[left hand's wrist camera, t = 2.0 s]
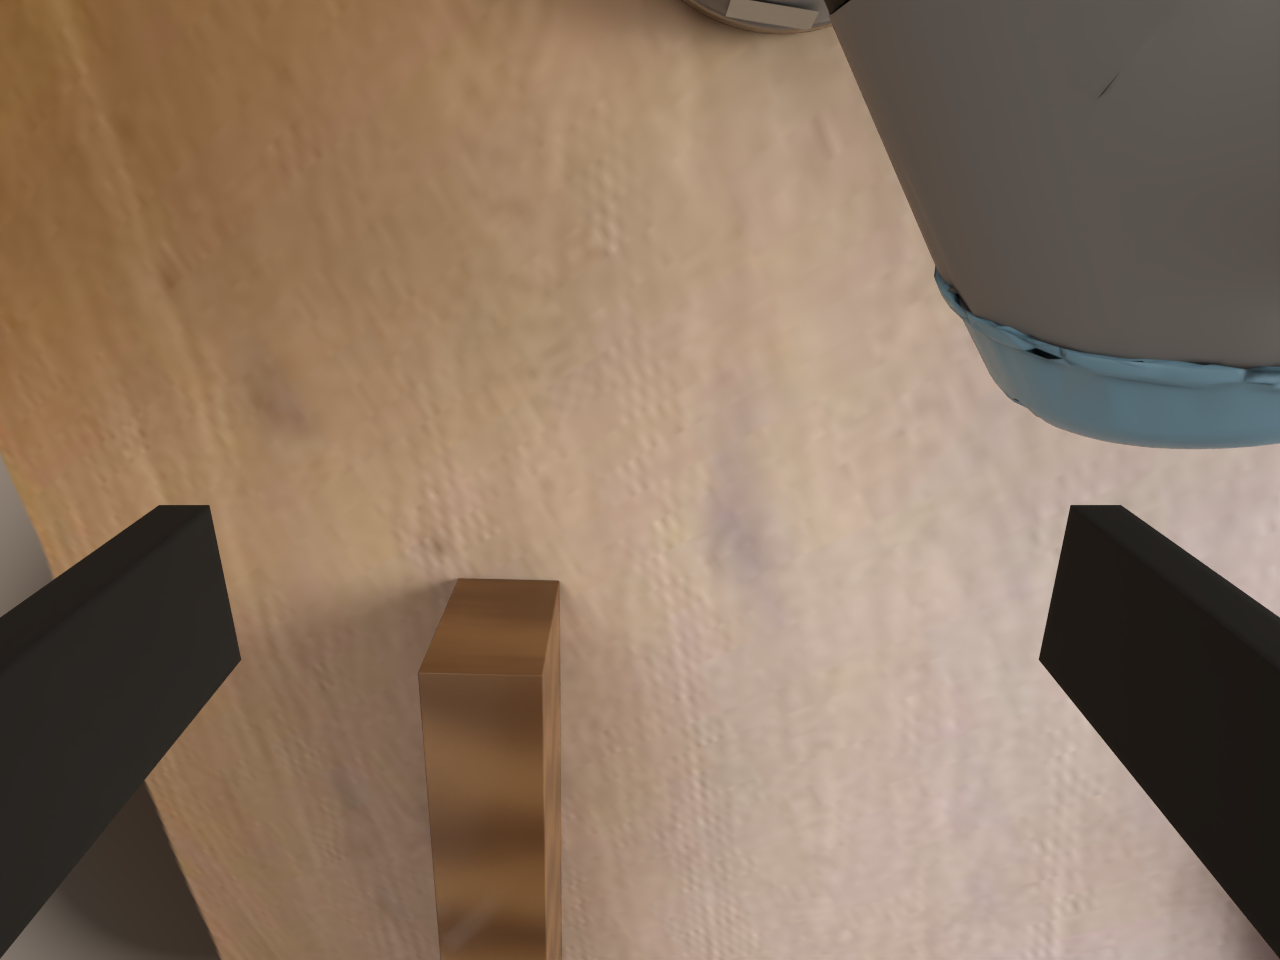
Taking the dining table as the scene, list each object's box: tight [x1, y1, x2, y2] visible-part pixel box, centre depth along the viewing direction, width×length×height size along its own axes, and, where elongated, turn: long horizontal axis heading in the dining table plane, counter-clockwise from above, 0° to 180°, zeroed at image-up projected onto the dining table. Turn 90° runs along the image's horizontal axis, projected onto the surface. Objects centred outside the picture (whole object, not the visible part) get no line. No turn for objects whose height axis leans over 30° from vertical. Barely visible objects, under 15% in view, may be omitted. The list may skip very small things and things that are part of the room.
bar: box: [418, 579, 562, 960], centre depth 44 cm, size 28×5×9 cm, turn 178°
